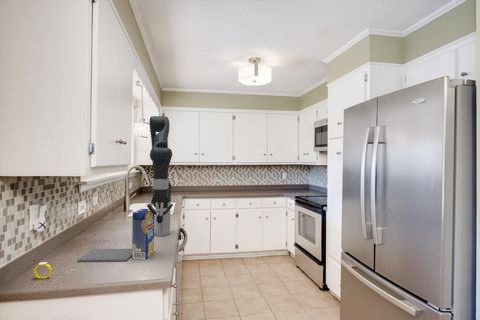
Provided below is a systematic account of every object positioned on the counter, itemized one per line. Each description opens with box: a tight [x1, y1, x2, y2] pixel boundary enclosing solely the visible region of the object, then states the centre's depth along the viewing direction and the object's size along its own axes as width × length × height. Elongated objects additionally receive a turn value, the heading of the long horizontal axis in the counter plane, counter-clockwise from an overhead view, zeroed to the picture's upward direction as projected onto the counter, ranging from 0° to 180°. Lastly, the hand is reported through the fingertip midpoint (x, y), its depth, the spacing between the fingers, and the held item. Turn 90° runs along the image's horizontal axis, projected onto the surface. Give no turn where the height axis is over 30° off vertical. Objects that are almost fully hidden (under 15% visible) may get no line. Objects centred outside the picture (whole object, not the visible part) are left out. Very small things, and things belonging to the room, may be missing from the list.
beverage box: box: [131, 208, 156, 260], centre depth 138 cm, size 7×11×22 cm, turn 178°
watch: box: [33, 261, 53, 280], centre depth 110 cm, size 6×3×6 cm, turn 97°
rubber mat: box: [76, 248, 132, 263], centre depth 136 cm, size 16×22×1 cm
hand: (159, 223), depth 138 cm, fingers closed
